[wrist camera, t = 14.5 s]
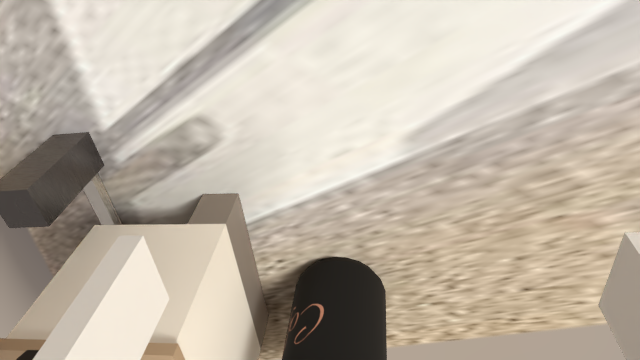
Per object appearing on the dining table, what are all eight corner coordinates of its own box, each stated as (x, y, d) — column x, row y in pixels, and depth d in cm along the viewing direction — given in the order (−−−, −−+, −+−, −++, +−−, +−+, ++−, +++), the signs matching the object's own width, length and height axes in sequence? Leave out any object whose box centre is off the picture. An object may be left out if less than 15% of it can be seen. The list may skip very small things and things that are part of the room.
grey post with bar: (53, 134, 47) (-15, 191, 39) (88, 132, 46) (26, 189, 38) (125, 272, 58) (84, 339, 50) (154, 272, 57) (117, 339, 49)
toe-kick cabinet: (107, 192, 50) (-22, 349, 34) (242, 189, 48) (173, 355, 32) (162, 316, 62) (86, 477, 46) (272, 318, 60) (234, 488, 44)
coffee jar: (320, 239, 51) (297, 390, 37) (402, 274, 53) (411, 431, 38) (284, 294, 57) (251, 443, 42) (359, 324, 59) (353, 477, 44)
